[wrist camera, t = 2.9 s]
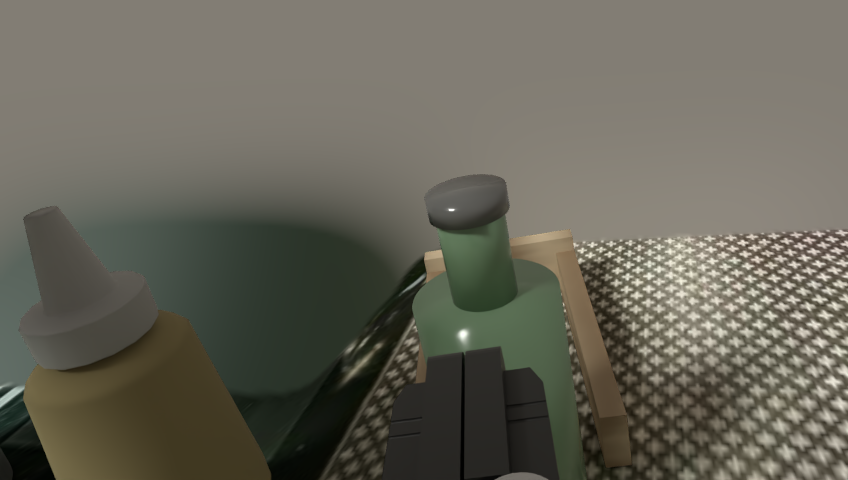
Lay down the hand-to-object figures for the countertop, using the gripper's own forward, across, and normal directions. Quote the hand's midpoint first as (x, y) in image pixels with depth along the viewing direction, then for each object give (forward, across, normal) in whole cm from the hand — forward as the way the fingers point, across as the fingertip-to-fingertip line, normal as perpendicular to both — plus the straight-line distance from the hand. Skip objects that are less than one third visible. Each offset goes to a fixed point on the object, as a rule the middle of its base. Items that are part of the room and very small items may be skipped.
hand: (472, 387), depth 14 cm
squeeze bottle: (+10, +15, +16) cm, 24 cm away
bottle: (+10, 0, +16) cm, 19 cm away
